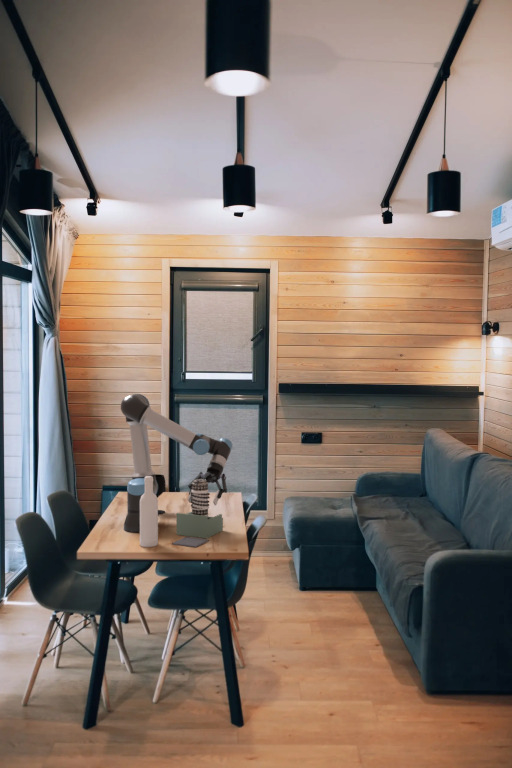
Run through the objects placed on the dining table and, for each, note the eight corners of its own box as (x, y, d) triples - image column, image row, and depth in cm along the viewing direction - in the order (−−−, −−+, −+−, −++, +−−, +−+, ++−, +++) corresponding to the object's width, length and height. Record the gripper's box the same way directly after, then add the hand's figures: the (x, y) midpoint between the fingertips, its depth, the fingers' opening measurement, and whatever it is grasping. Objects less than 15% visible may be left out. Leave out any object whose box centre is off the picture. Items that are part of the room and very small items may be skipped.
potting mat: (172, 544, 280) (172, 543, 280) (186, 537, 291) (186, 536, 291) (195, 547, 275) (195, 546, 275) (209, 540, 286) (209, 539, 286)
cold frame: (176, 534, 297) (176, 513, 297) (193, 526, 311) (193, 506, 311) (206, 538, 290) (206, 516, 290) (222, 530, 305) (222, 509, 304)
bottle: (158, 542, 284) (158, 475, 283) (158, 546, 276) (158, 478, 275) (139, 542, 283) (139, 475, 282) (139, 547, 275) (139, 478, 274)
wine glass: (146, 515, 335) (146, 477, 335) (145, 511, 345) (145, 474, 345) (166, 514, 338) (166, 476, 338) (164, 510, 348) (164, 473, 348)
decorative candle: (192, 535, 295) (192, 482, 294) (188, 530, 304) (188, 478, 303) (211, 534, 298) (211, 481, 297) (207, 529, 306) (207, 477, 306)
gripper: (241, 472, 311) (227, 509, 298) (197, 469, 321) (181, 504, 308) (236, 463, 306) (222, 500, 293) (191, 459, 316) (176, 495, 303)
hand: (201, 502), depth 300 cm, fingers open, 13 cm apart
